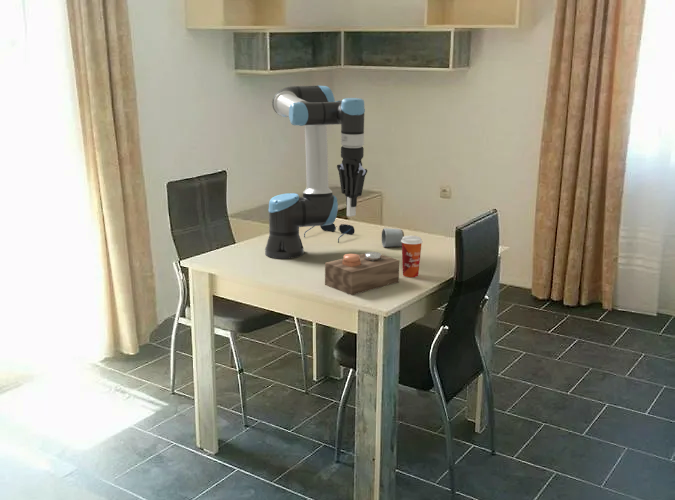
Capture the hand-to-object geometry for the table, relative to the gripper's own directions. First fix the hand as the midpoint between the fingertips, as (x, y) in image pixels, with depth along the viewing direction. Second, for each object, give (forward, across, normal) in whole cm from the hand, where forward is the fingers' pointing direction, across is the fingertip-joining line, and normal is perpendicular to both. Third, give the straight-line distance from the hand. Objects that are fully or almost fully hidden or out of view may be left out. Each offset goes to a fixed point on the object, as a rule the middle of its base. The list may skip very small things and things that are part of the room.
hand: (351, 215), depth 261 cm
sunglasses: (+26, -55, +36) cm, 71 cm away
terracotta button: (+21, +1, -1) cm, 21 cm away
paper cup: (+25, +6, +24) cm, 35 cm away
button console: (+25, +2, +4) cm, 25 cm away
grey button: (+23, +1, +9) cm, 24 cm away
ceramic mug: (+26, -28, +47) cm, 60 cm away
